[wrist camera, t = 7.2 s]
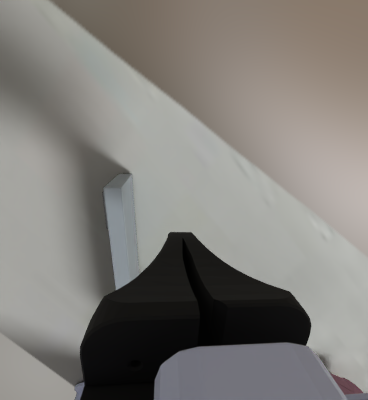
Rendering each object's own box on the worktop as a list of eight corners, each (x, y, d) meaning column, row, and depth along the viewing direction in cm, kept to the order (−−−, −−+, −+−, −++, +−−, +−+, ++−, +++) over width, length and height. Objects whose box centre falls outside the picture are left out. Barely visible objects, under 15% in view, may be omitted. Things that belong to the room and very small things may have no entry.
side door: (142, 316, 24) (137, 358, 20) (128, 317, 24) (120, 360, 20) (131, 173, 19) (121, 187, 14) (114, 174, 19) (97, 188, 14)
